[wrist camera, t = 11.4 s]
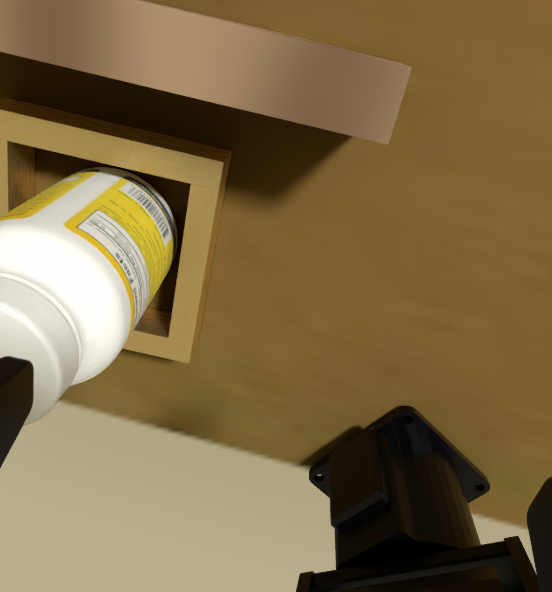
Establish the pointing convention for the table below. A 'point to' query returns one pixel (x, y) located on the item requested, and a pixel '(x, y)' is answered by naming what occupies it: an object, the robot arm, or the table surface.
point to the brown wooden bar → (211, 61)
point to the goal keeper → (139, 157)
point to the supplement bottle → (80, 275)
